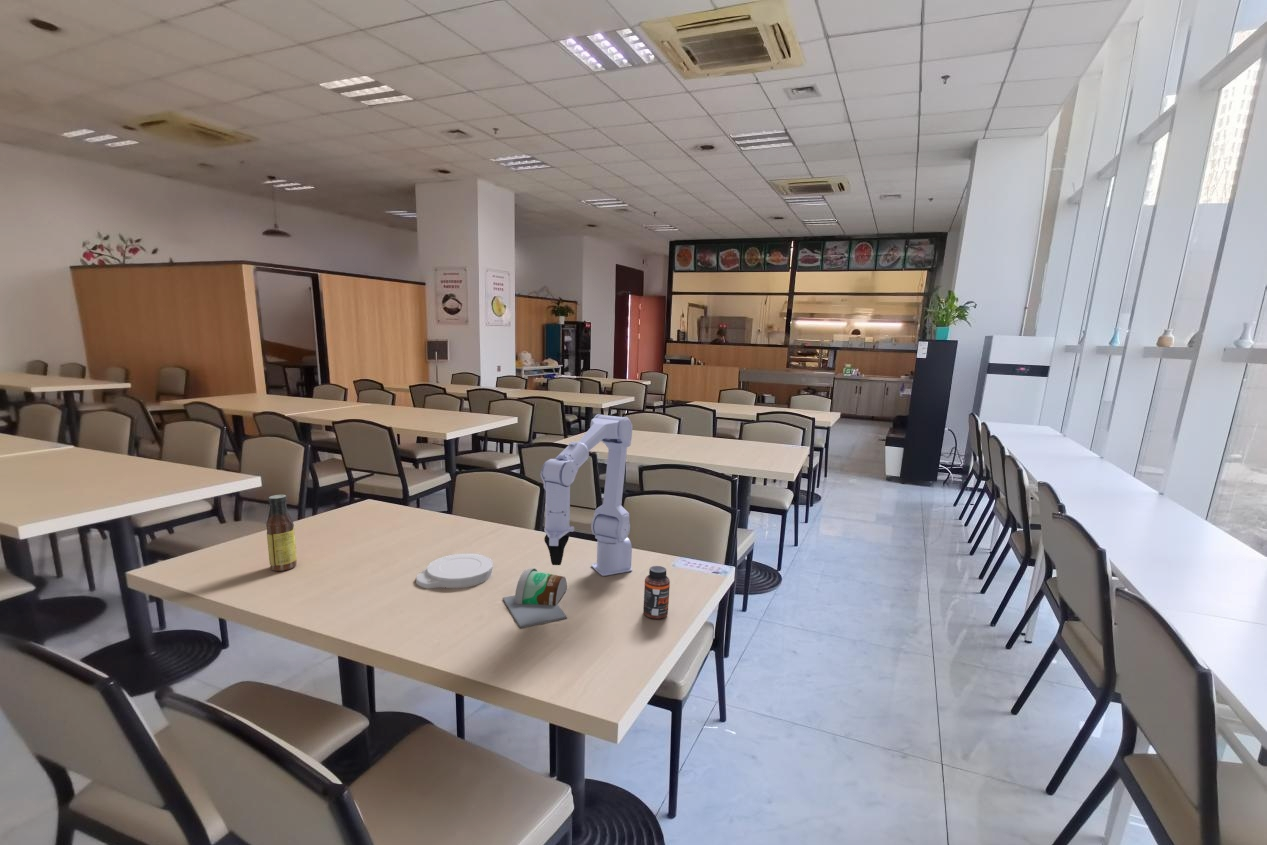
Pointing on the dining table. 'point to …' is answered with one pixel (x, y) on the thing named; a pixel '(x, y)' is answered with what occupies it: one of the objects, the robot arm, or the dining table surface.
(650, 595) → the supplement bottle
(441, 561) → the lid
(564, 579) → the food container
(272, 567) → the sauce bottle
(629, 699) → the dining table surface
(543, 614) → the mat
